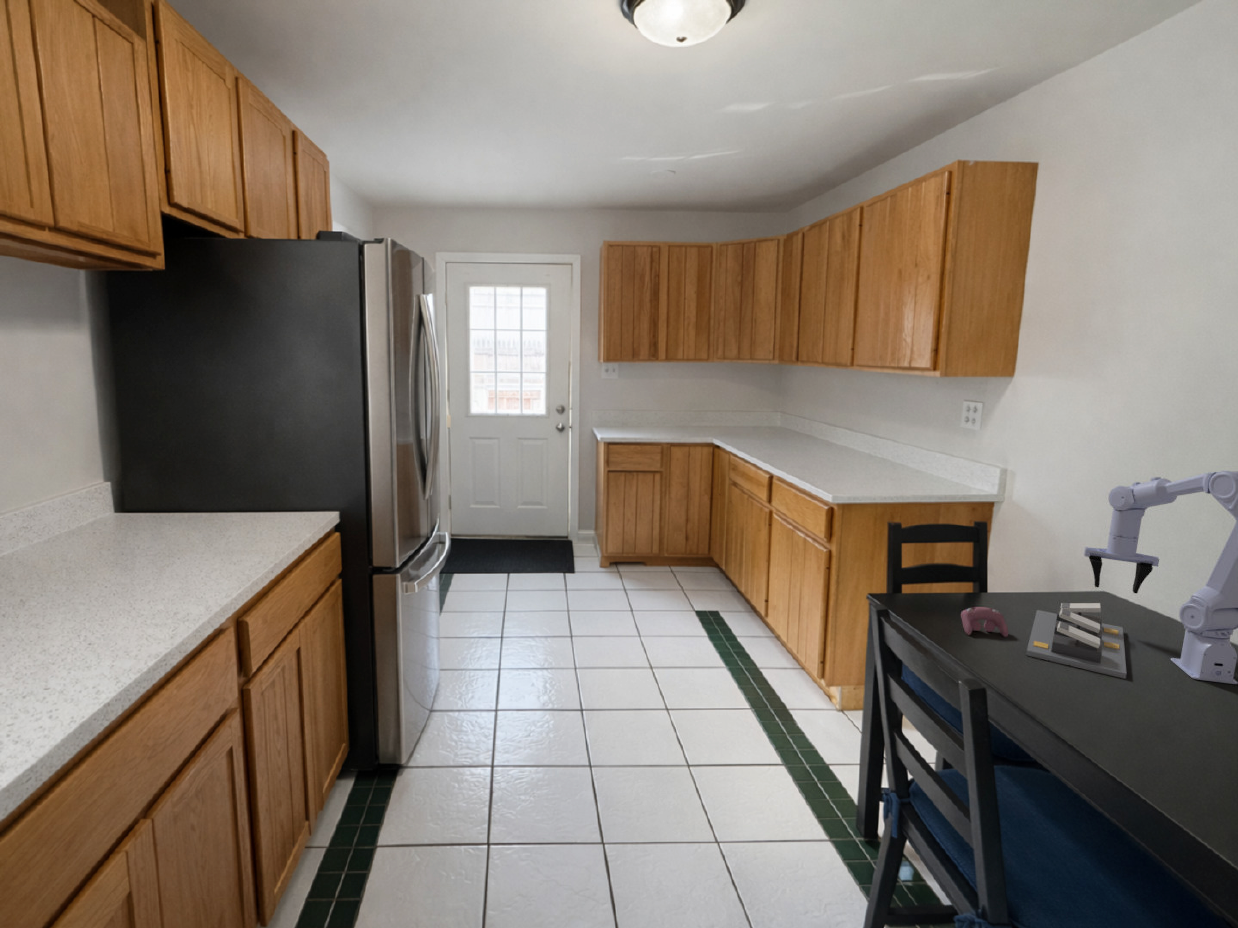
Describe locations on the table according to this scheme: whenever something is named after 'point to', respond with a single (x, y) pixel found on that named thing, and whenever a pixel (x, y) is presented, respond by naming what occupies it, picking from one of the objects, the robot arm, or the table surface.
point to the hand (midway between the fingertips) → (1115, 589)
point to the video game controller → (990, 615)
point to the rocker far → (1081, 607)
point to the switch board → (1107, 653)
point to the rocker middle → (1079, 620)
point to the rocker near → (1078, 634)
